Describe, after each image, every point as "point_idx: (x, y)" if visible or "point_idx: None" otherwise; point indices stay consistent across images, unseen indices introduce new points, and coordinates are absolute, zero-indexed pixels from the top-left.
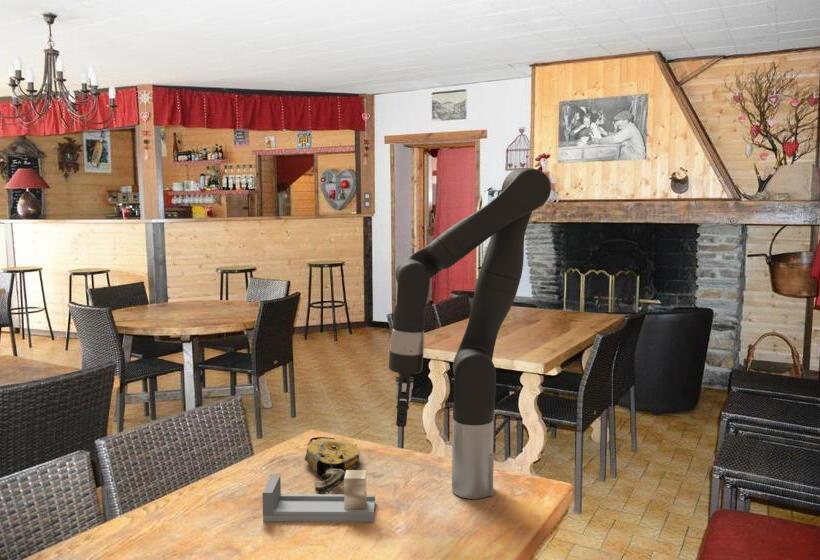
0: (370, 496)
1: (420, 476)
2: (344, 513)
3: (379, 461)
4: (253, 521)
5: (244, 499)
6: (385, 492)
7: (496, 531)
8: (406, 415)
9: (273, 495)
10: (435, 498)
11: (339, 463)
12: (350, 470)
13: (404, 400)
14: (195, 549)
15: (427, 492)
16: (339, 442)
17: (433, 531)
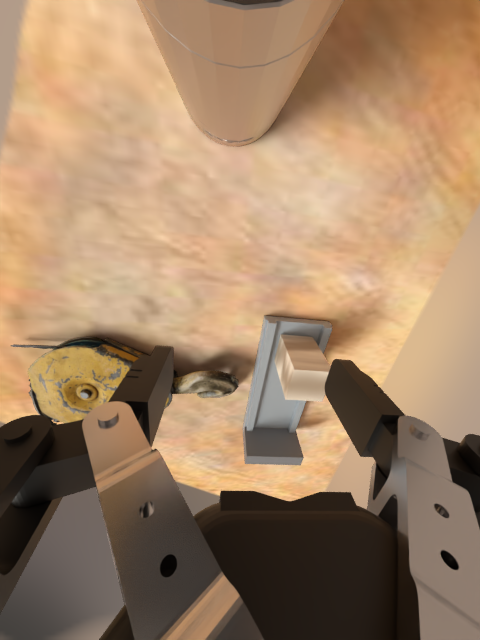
0: (274, 330)
1: (146, 218)
2: None
3: (75, 300)
4: None
5: (232, 449)
6: (225, 297)
7: (457, 66)
8: (378, 395)
9: (293, 449)
10: (263, 199)
11: None
12: (289, 393)
13: (388, 484)
14: (332, 464)
15: (231, 213)
16: (56, 386)
17: (394, 226)
